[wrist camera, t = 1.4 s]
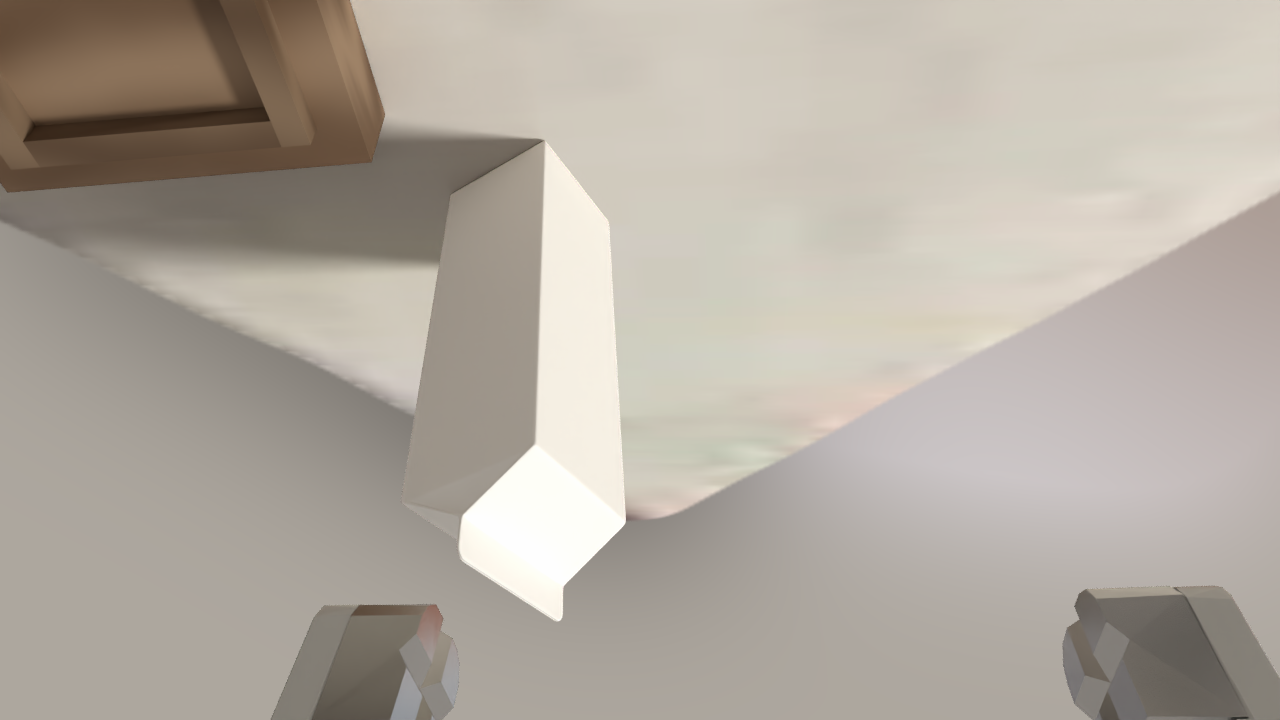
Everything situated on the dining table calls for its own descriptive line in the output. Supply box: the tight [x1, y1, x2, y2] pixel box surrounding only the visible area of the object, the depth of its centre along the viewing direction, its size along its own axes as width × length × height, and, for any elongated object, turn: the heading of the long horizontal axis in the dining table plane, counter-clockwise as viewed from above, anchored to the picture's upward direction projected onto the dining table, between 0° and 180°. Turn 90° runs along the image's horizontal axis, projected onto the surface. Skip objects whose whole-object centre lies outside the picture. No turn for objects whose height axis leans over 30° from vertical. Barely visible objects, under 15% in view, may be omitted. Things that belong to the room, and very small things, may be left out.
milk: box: [401, 141, 626, 621], centre depth 36 cm, size 6×6×22 cm
